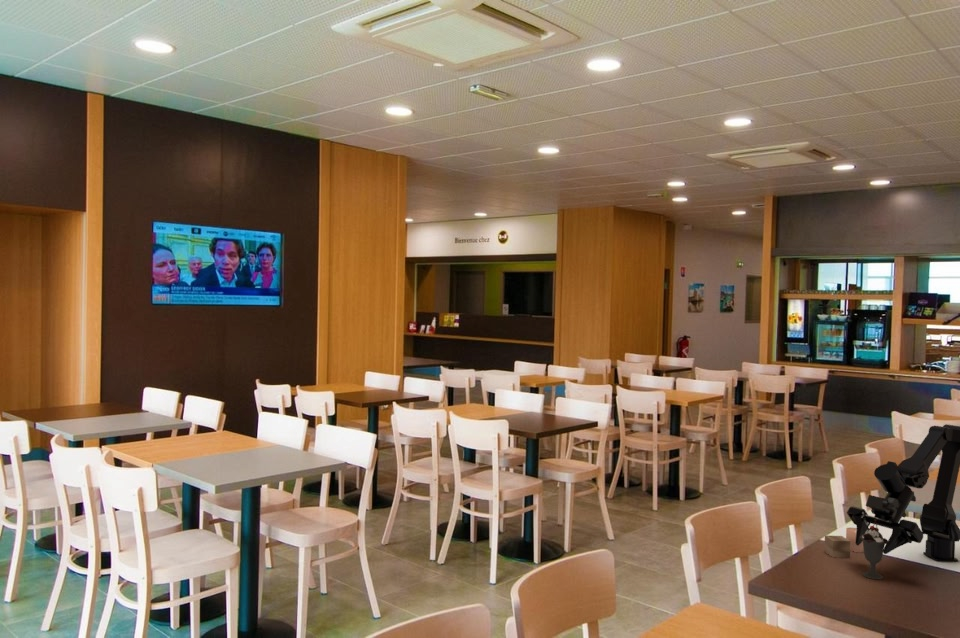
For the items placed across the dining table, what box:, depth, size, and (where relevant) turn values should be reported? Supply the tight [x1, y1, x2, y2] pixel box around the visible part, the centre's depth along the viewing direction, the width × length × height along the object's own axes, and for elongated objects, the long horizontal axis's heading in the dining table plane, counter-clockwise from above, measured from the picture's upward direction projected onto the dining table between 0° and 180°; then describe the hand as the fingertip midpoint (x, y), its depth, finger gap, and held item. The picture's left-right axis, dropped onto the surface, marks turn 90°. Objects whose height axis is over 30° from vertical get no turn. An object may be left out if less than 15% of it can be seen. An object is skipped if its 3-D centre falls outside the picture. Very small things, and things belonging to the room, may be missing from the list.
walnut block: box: [824, 535, 851, 559], centre depth 213 cm, size 5×5×5 cm
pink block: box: [845, 527, 864, 553], centre depth 218 cm, size 5×5×6 cm
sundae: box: [860, 520, 889, 580], centre depth 196 cm, size 7×7×15 cm
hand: (870, 548), depth 195 cm, fingers open, 7 cm apart
